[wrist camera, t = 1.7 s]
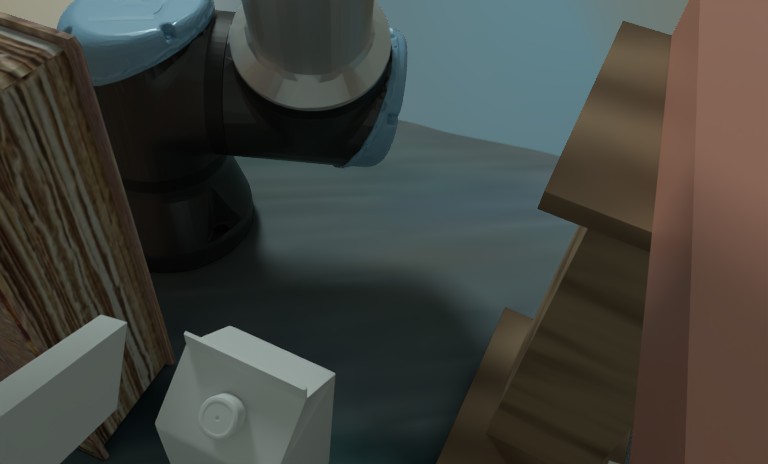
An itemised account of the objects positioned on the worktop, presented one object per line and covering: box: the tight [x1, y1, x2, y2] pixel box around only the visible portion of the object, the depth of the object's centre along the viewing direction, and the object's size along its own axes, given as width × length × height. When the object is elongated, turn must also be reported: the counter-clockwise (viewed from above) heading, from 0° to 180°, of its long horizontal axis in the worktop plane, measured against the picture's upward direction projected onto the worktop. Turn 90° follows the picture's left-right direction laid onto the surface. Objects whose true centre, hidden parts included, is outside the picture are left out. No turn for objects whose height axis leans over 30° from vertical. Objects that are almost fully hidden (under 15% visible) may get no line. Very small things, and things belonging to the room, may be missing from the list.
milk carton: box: [155, 326, 335, 464], centre depth 37 cm, size 7×7×19 cm
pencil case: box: [629, 0, 768, 464], centre depth 23 cm, size 30×4×4 cm, turn 159°
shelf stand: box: [436, 21, 672, 464], centre depth 39 cm, size 17×13×30 cm
